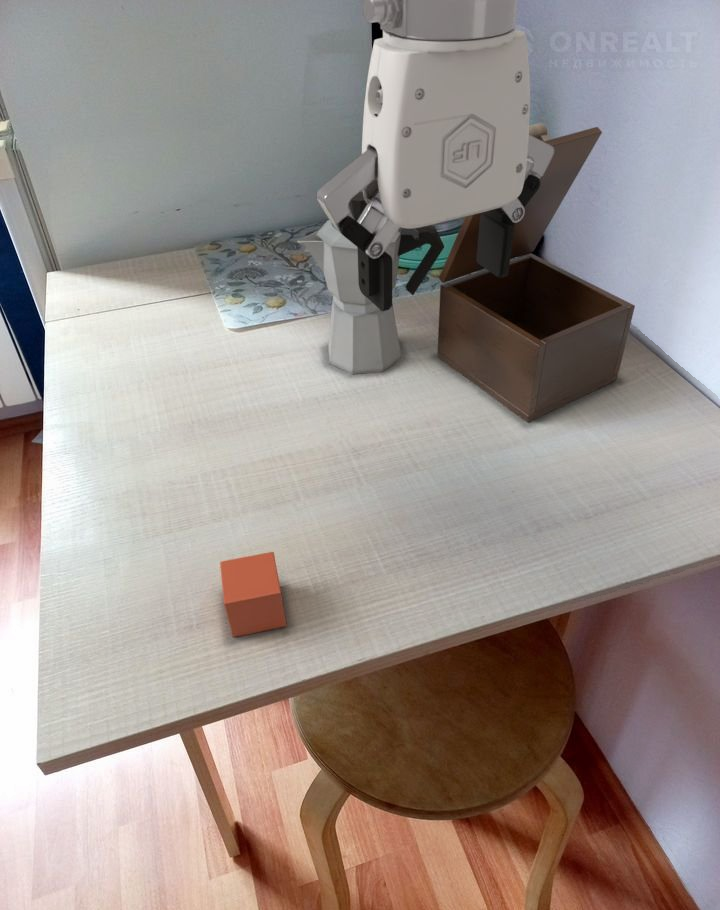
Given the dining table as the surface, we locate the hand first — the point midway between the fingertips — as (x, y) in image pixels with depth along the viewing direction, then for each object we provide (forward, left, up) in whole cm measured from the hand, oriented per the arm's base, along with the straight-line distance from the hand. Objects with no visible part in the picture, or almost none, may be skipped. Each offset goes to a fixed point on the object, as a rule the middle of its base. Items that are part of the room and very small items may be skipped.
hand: (436, 285), depth 51 cm
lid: (-14, -18, -3) cm, 23 cm away
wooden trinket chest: (-15, -15, -19) cm, 29 cm away
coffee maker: (0, -22, -20) cm, 29 cm away
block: (+17, +10, -19) cm, 28 cm away
